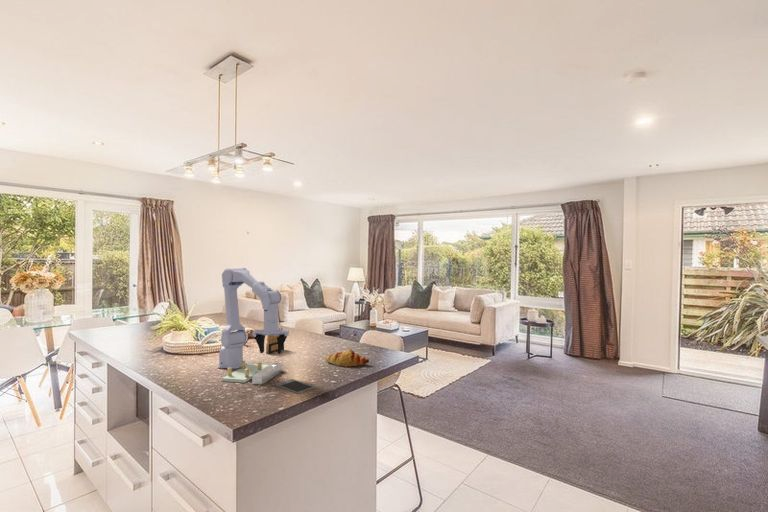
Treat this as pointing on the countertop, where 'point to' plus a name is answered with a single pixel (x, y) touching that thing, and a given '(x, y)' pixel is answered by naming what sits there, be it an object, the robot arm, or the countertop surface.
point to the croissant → (347, 359)
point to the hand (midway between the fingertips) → (270, 352)
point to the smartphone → (295, 386)
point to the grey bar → (267, 373)
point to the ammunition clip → (272, 344)
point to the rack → (244, 372)
